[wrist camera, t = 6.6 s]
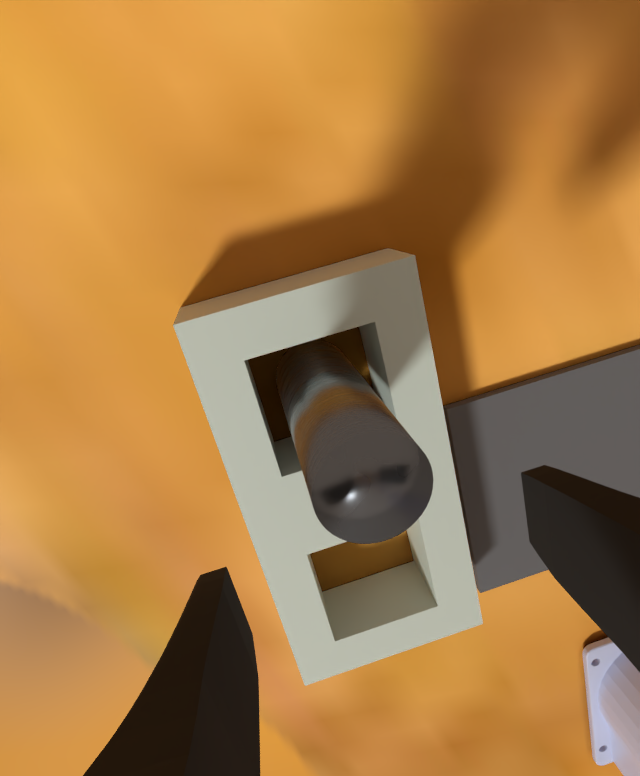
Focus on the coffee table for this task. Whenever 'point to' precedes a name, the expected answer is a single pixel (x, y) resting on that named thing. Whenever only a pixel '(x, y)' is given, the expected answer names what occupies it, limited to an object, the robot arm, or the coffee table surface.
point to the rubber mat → (541, 452)
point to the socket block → (283, 470)
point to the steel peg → (350, 447)
